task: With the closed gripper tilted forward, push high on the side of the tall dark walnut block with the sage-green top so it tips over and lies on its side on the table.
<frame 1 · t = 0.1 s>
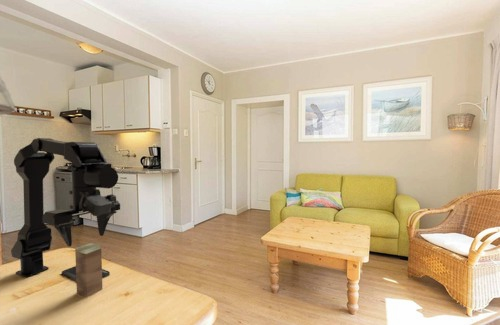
hand: (86, 240, 73), 15 cm above the table, tool pointing down, fingers open, 9 cm apart
phone: (85, 275, 83), on the table
walnut block: (89, 291, 73), on the table
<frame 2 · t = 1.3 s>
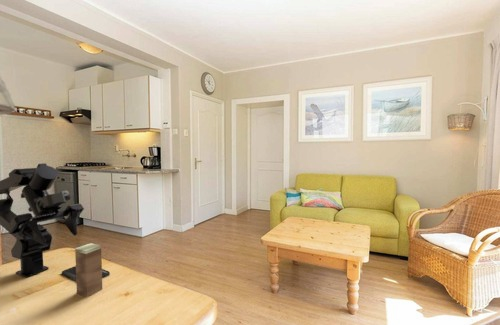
hand: (61, 239, 77), 13 cm above the table, tool tilted 45°, fingers open, 8 cm apart
nothing on the table moved.
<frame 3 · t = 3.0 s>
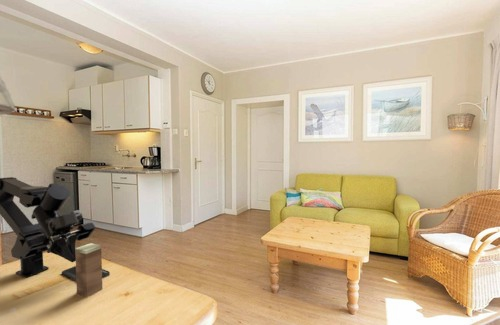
hand: (74, 261, 75), 8 cm above the table, tool tilted 45°, fingers closed
nothing on the table moved.
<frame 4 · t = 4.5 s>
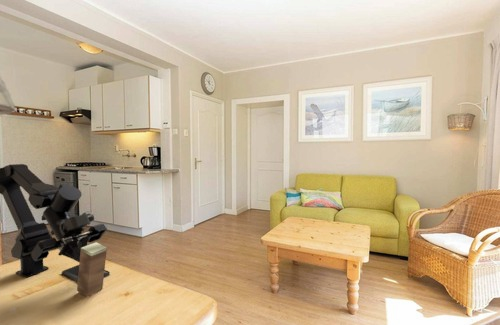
hand: (86, 263, 73), 8 cm above the table, tool tilted 45°, fingers closed, pressing on walnut block
walnut block: (89, 289, 73), on the table, tilted 11°, touching gripper
everything else where it was.
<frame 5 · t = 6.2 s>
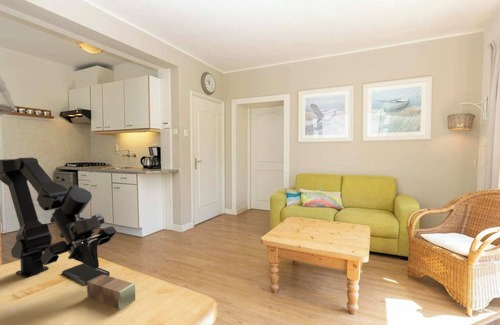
hand: (96, 267, 71), 8 cm above the table, tool tilted 45°, fingers closed
walnut block: (95, 285, 72), point 2 cm above the table, tilted 90°
everything else where it was.
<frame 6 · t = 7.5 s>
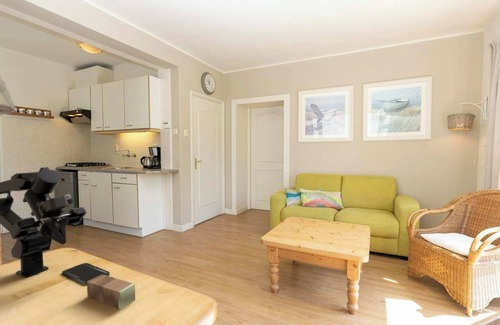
hand: (64, 243, 77), 12 cm above the table, tool tilted 45°, fingers closed
nothing on the table moved.
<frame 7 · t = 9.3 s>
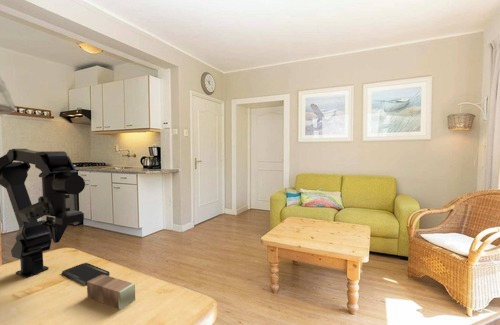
hand: (56, 242, 78), 12 cm above the table, tool pointing down, fingers closed
nothing on the table moved.
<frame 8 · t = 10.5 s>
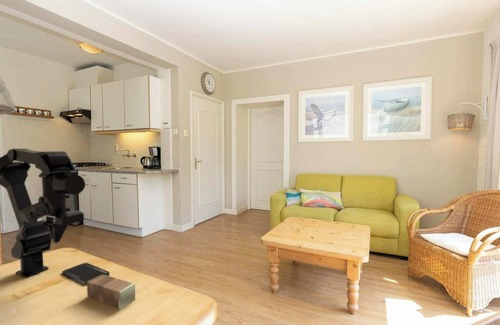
hand: (56, 242, 78), 12 cm above the table, tool pointing down, fingers closed
nothing on the table moved.
at the end: walnut block tilted 90°; walnut block inside the target area (1.6 cm from its centre), point 2.2 cm above the table; the gripper is holding nothing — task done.
